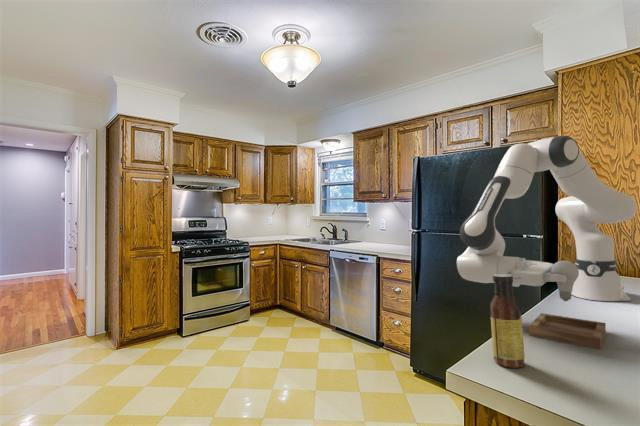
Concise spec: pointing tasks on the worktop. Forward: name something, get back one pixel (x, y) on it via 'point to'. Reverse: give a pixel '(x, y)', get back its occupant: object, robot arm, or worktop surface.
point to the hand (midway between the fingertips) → (568, 276)
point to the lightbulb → (572, 275)
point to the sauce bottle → (506, 324)
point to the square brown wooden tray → (568, 330)
